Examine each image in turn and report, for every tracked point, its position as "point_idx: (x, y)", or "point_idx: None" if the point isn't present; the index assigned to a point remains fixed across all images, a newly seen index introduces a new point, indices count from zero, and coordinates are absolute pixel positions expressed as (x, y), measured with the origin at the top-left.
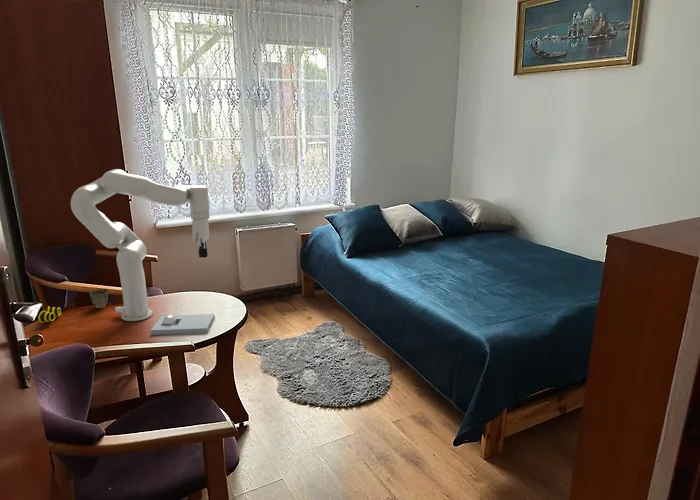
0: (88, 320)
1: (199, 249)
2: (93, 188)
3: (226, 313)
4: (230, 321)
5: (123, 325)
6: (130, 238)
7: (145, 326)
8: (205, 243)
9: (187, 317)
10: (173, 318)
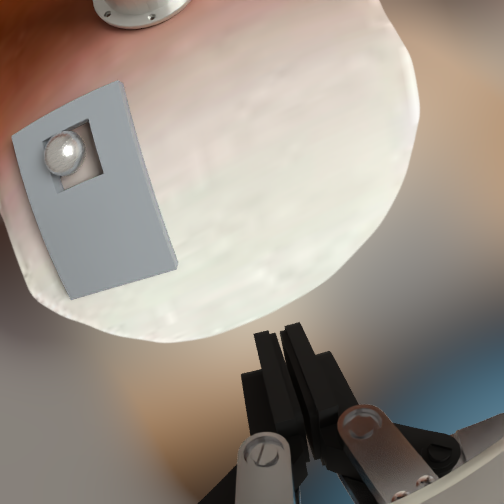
0: None
1: (272, 418)
2: None
3: (231, 279)
4: (170, 319)
5: (71, 4)
6: None
7: (67, 69)
8: (355, 500)
9: (119, 188)
10: (59, 173)
